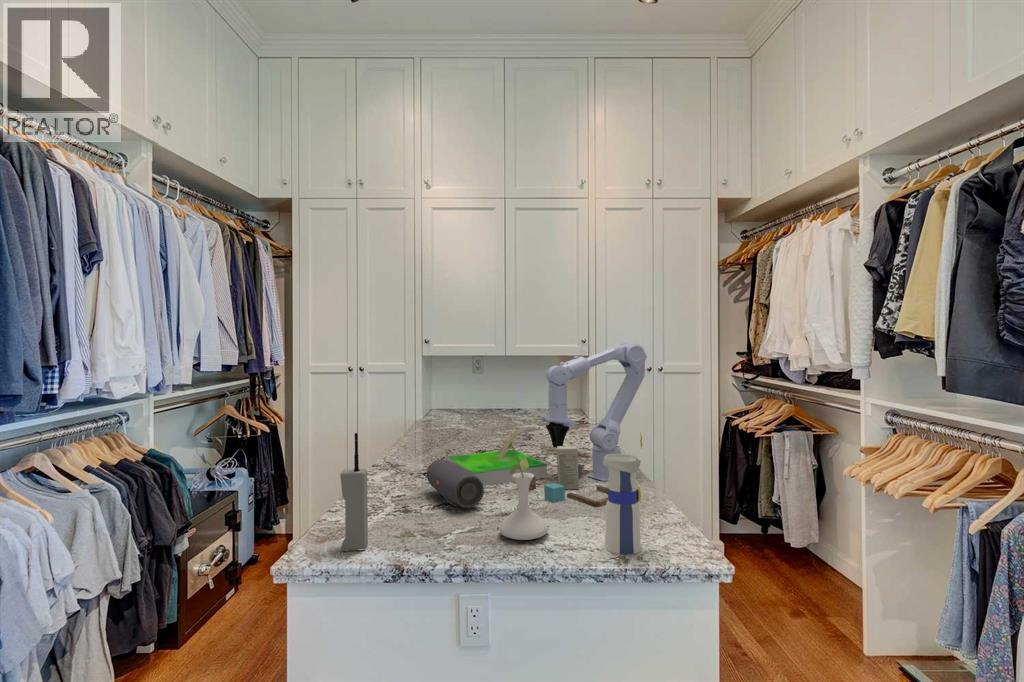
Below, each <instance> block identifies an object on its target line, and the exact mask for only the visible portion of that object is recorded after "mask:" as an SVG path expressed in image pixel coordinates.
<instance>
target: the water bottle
mask: <svg viewBox="0 0 1024 682" xmlns="http://www.w3.org/2000/svg"><path fill="white" fill-rule="evenodd" d="M639 442H640V449H642V448H643V436H642V433H641V432H639ZM641 461H642V460H640V459H638V457H637V456H635V455H634V454H629V453H622V454H610V455H606V456H605V457H604V461H603V465H604V466H606V467H608V471H609V480H608V481H606V483H605V487H606V488H608V493H607V498H608V501H607V504H605V529H604V530H605V531H604V532H605V533H604V548H605V550H606V551H607V552H610V553H613V554H618V555H634V554H637V553H639V552H641V551H642V541H641V526H640V525H641V520H640V519H641V518H640V515H641V514H640V504H639V503H640V502H641V500H642V492H641V488H640V487H641V486H640V485H639V483H638V481H637V480H638V479H637V476H640V475H639V469H640V466H641V465H640V464H641V463H642V462H641Z"/></svg>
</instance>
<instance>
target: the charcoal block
mask: <svg viewBox="0 0 1024 682" xmlns="http://www.w3.org/2000/svg"><path fill="white" fill-rule="evenodd" d="M582 466H583V465H582V464H581V463H578V477H579V478H581V477H580V476H582V475H583V471H582V468H583V467H582ZM582 477H583V476H582Z"/></svg>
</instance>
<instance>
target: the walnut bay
mask: <svg viewBox="0 0 1024 682" xmlns="http://www.w3.org/2000/svg"><path fill="white" fill-rule="evenodd" d="M596 491H598V492H602V493H604V494H605V493H606V494H608V488H607V486H602V485H598V486H596ZM566 497H567V498H569V499H571V498H572V499H571V500H574V499H575V501H577V500H578V501H577V502H580V503H583V504H586V505H588V504H589V506H591V507H595V508H597V507H601V506H606V504H607V501H608V497H604V498H602V499H598V500H594V499H591V498H588V497H586V496H583V495H581V494H580V495H579V494H577V493H574V492H567V493H566Z"/></svg>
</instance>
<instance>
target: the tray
mask: <svg viewBox="0 0 1024 682" xmlns="http://www.w3.org/2000/svg"><path fill="white" fill-rule="evenodd" d="M515 451H516V453H517V456H518V458H519V462H520V461H521V460H522V459H524V458H525V457H526V459H527V461H528V464H529V467H528V468H527V469H526V470H524V471H522V472H523V473H531V474H533V475H534V476H536V479H537V480H540V479H539V478H544V479H547V478H548V464H547V463H545V462H543V461H540V460H538V459H536V458H534V457H532V456H529V455H527V454H525V453H523V452H520V451H518V450H516V449H515ZM499 453H500V452H498V450H497V451H488V452H479V453H468V454H459V455H450V456H449V455H448V456H447V460H448V461H450V462H453V463H455V464H457V465H459V466H461V467H463V468H465V469H466V470H468V471H469V472H471V473H472V474H474V475H475V476H476V477H478V478H479V479H480V481H481V482H482V484H483V486H484V487H487V486H486V485H491V486H495V485H494V484H499V485H502V484H501V483H506V484H510V483H509V482H514V483H516V481H515V480H514V478H513V477H512V475H513V474H516V473H521V471H520V469H519V467H518V468H517V470H516V471H515V473H513V474H509V473H510V470H511V469H512V467H513V466H514V465H516V464H518V460H517V457H516V455H515V453H514V451H513V449H509V450H508V452H507V453H506V454H505V455H504V456H503V457H502V458H500V459H499V457H497V455H498V454H499ZM546 477H547V478H546Z"/></svg>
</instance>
